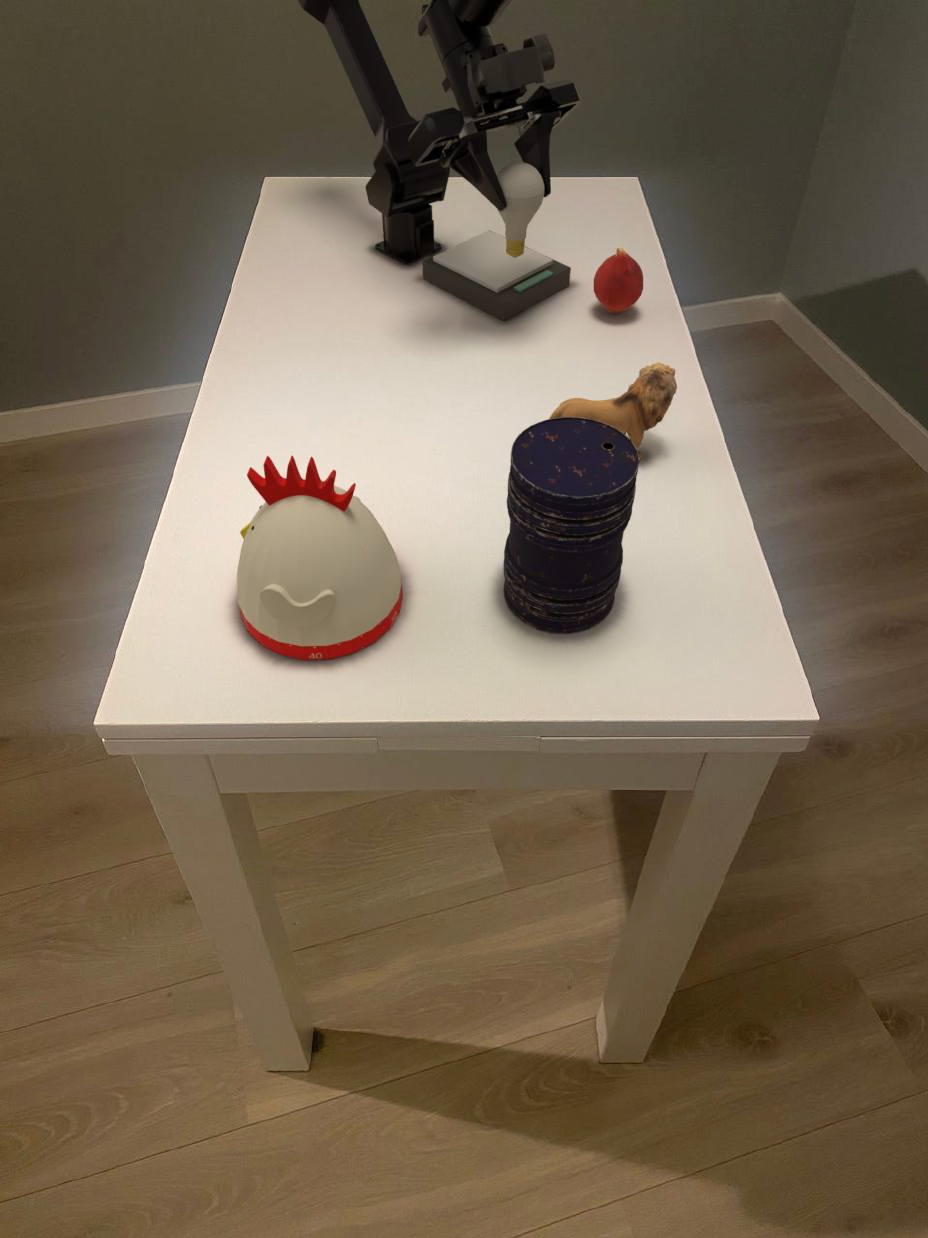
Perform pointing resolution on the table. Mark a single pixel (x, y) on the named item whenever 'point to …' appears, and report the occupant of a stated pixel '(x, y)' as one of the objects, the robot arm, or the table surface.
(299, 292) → the table surface
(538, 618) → the rusty blue oil drum
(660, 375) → the lion figurine
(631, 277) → the onion
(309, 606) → the kitchen timer
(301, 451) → the table surface
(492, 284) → the kitchen scale
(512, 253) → the light bulb
